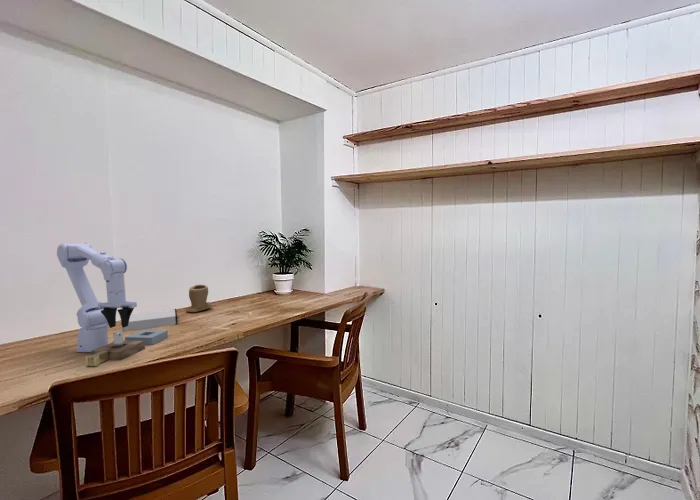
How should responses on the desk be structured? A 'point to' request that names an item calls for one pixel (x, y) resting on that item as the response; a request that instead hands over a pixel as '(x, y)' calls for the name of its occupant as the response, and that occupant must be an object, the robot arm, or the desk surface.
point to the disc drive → (152, 319)
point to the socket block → (121, 349)
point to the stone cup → (198, 298)
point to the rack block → (148, 336)
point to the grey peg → (118, 339)
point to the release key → (96, 358)
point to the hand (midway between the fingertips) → (118, 326)
